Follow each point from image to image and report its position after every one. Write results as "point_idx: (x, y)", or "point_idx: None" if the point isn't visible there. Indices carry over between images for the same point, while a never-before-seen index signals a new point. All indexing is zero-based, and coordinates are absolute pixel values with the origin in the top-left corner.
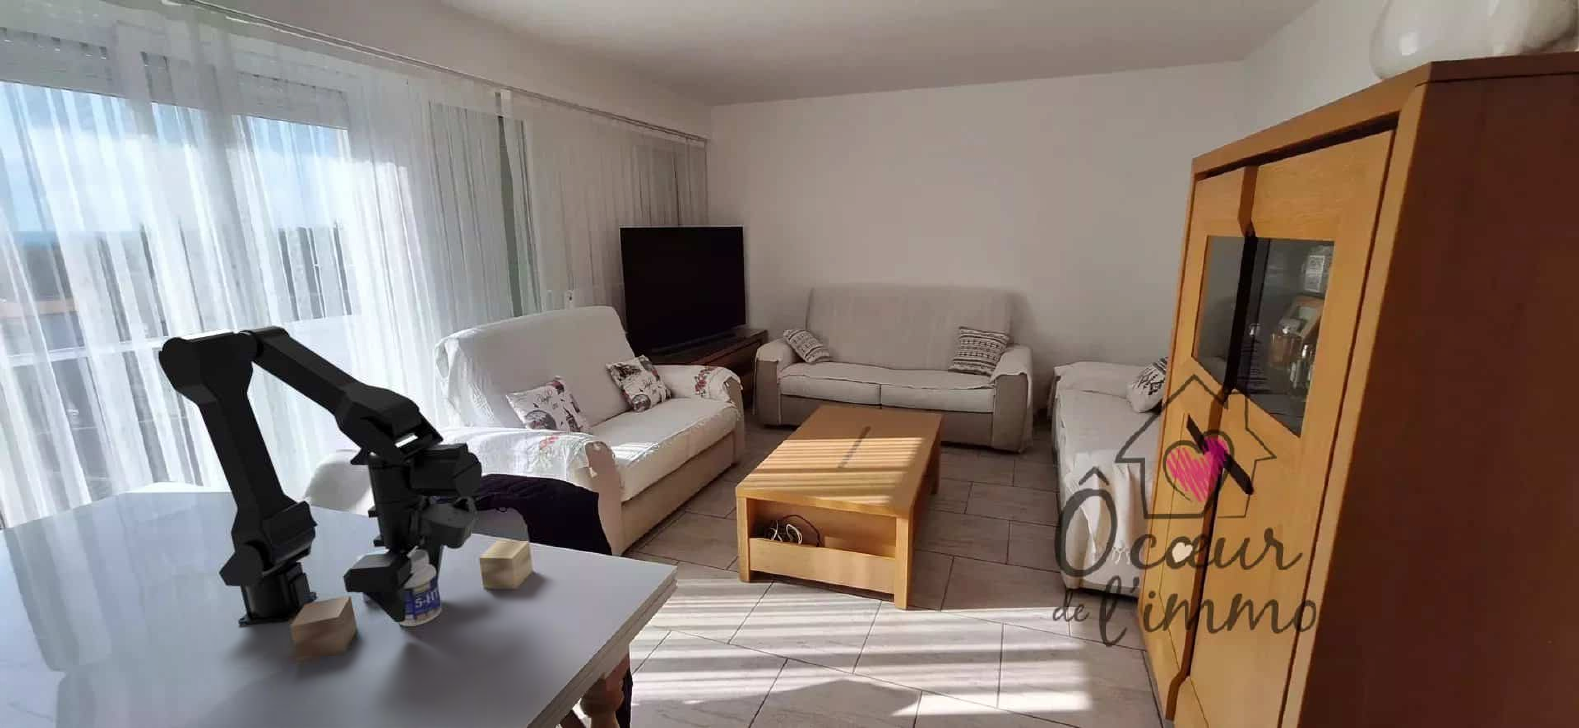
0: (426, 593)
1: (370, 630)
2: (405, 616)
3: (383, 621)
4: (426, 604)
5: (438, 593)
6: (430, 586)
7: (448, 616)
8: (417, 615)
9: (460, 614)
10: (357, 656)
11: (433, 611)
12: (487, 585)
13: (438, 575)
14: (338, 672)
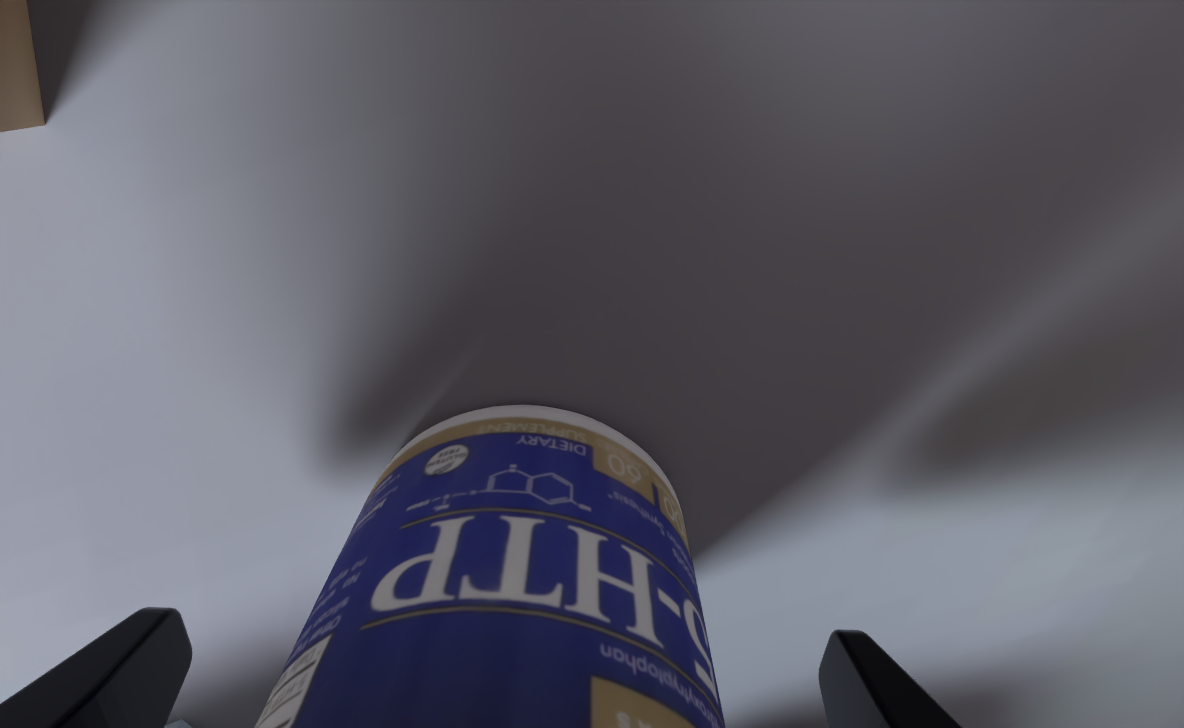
0: (653, 663)
1: None
2: (859, 654)
3: None
4: (657, 560)
5: (471, 526)
6: (591, 701)
7: (578, 314)
8: (689, 557)
9: (563, 209)
10: None
11: (601, 456)
12: (6, 66)
13: (96, 650)
14: (1035, 708)
